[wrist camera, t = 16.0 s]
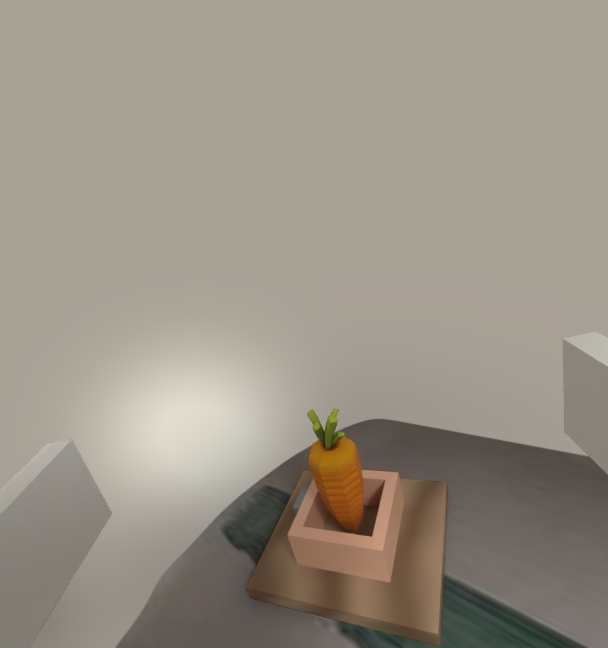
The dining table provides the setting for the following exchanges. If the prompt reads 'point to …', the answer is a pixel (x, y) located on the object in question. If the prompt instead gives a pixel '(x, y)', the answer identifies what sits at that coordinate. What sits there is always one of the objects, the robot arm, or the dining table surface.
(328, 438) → the carrot
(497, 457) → the dining table surface
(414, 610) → the walnut board
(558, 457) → the dining table surface
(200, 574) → the dining table surface
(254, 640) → the dining table surface
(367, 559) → the pink square planter box
